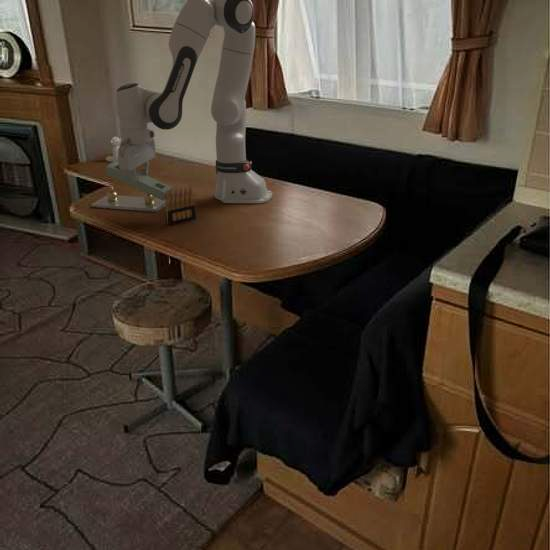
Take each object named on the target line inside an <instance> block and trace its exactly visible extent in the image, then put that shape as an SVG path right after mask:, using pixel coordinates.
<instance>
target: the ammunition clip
mask: <svg viewBox="0 0 550 550" xmlns="http://www.w3.org/2000/svg"><path fill="white" fill-rule="evenodd" d="M165 197H166V202H165V204H166V206H165V224H166V225H167V226H169V227H170V226H173V225H177V224H181V223H185V222H190V221H194V220H197V215H196V206H195V201H194V194H193V188H192V185H189V187H188V189H187V186H184V189H183V188H182V187H181V186H180V188H179V191H178V188H175V190H174V191H173V189H171V191H170V196H169V194H168V191H167V190H166V194H165Z"/></svg>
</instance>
